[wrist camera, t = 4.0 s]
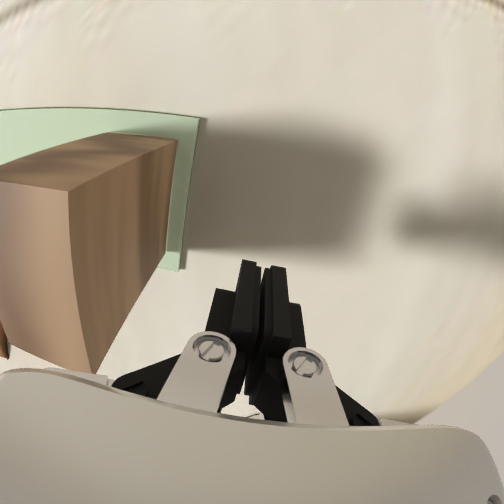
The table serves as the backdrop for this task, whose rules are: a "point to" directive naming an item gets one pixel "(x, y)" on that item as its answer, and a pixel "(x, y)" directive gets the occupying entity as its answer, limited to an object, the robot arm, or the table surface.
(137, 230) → the walnut block
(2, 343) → the sunglasses case
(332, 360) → the table surface
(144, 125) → the felt mat
